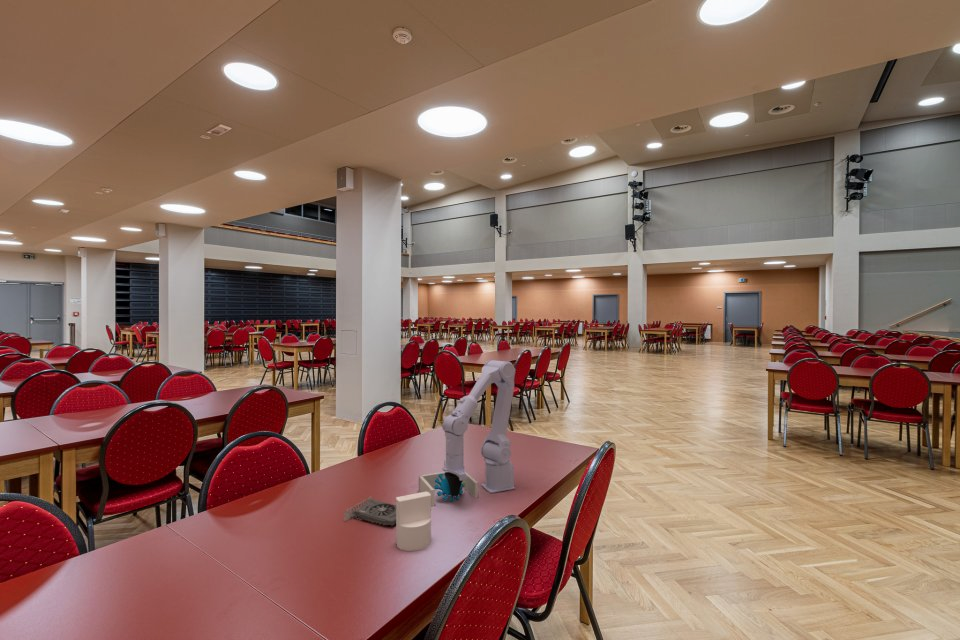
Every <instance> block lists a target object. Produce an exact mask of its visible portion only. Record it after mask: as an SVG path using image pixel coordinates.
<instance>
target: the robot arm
mask: <svg viewBox="0 0 960 640" xmlns="http://www.w3.org/2000/svg"><path fill="white" fill-rule="evenodd" d="M516 370H517V369H516V368H515V366H514V365H513V363H512V362H511V361H508V360H506V361H503V360H495V359H489V360H487V361H486V362H485V363H484V365H483V366H482V368H481V374H480V375H479V377H478V378H477V380H476V382H475V384H474V385H473V387H472V388H471V390H470V392H469V394H468V395H464V396H463V397H461V398H460V399H459V403H458V404H457V405H456V406H455V408H454V410H452V412H451V414H449V415H447V416H446V417H445V418H444V420H443V422H442V424H441V428H442V430H443V431H444V436H445V460H443V461H444V464H443V465H444V467H442V468H441V469H442V472H446V471H448V472H446V473H445V476H446V478H447V480H448V483H449V488H450V492H451V495H452V496H453V498H454V497H456V496H458V495H459V496H460V494H459V491H460V487H461V484H462V481H463V480H466V473H467V472H466V471H465V466H464V465H465V463H464V461H465V460H464V459H465V458H464V455H465V453H464V447H465V446H464V437H465V436H464V434H465V433H466V432H467V430H468V426H469V425H468V424H469V422H470V418H471V417H472V415H473V414H474V413H475V412H476V409H478V408H479V407H478V401H479V399H480V398H481V396H483V394H484V393H485V391H486V390H487V389H488V388H489V387H490V386H491V385H492V384H495V385H496V387H497V392H496V393H497V394H496V400H495V406H494V411H493V417H492V423H491V428H490V432H489V433H488V434H486V435H485V436H484V441H483V443H482V445H481V447H480V454H481V457H483V458H484V459H483V460H484V462H485V467H484V468H485V470H484V471H485V473H484V475H485V476H484V477H485V483H484V482H483V483H481V484H480V486H481V487H482V488H484V489H485V490H486V491H488V493H490V494H494V493H500V492H505V491H510V490H515V489H516V487H515V480H514V479H515V478H514V477H515V473H514V472H515V471H514V470H515V469H514V466H513V465H514V464H513V463H512V461H511V460H510V459H511V455H512V450H511V446H512V445H511V443H512V442H511V440H510V439H509V437H508V435H507V431H508V425H509V419H510V413H511V407H512V401H513V396H514V391H515V375H516ZM465 472H466V473H465Z"/></svg>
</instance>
